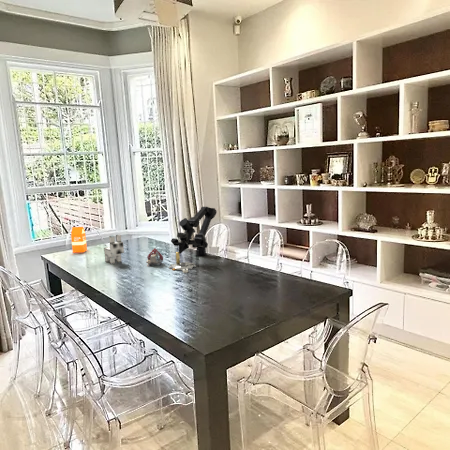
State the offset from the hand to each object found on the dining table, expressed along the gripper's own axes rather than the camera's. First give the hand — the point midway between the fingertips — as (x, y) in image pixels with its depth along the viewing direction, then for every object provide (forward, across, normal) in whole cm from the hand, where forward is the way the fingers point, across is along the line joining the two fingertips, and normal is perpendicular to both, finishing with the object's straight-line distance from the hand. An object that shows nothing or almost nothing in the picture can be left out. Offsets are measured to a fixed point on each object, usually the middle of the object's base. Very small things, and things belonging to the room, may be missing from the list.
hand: (179, 253), depth 262 cm
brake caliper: (+10, -16, +2) cm, 19 cm away
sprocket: (+9, +5, +2) cm, 10 cm away
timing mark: (+15, +13, -4) cm, 20 cm away
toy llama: (+14, -49, -3) cm, 51 cm away
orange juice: (+4, -100, +8) cm, 101 cm away
